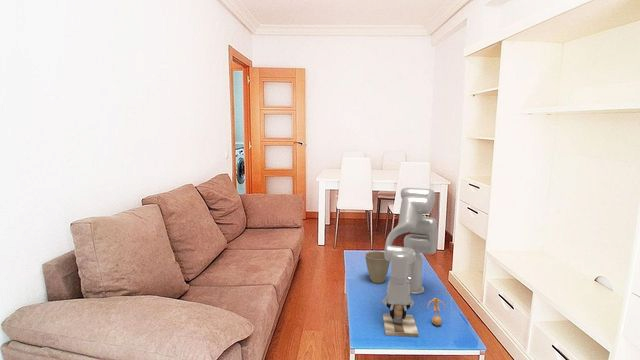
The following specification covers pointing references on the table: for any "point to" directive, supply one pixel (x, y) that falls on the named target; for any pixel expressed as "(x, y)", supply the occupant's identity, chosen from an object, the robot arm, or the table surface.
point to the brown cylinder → (398, 313)
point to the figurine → (435, 319)
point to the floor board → (400, 326)
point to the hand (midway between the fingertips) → (397, 317)
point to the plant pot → (377, 266)
